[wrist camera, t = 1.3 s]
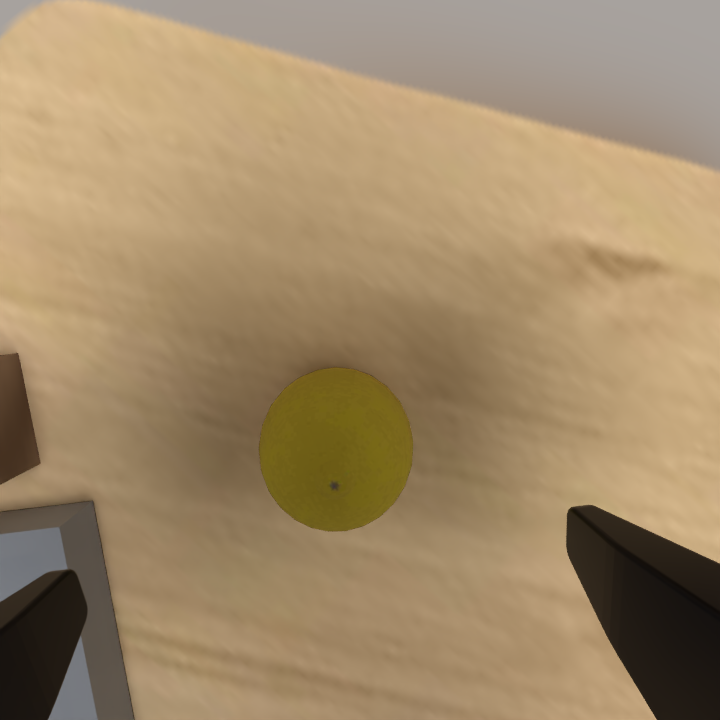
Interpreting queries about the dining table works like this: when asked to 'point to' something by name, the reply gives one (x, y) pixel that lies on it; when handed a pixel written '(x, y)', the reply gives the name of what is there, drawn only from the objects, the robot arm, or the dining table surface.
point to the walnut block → (15, 422)
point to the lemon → (336, 449)
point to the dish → (99, 636)
